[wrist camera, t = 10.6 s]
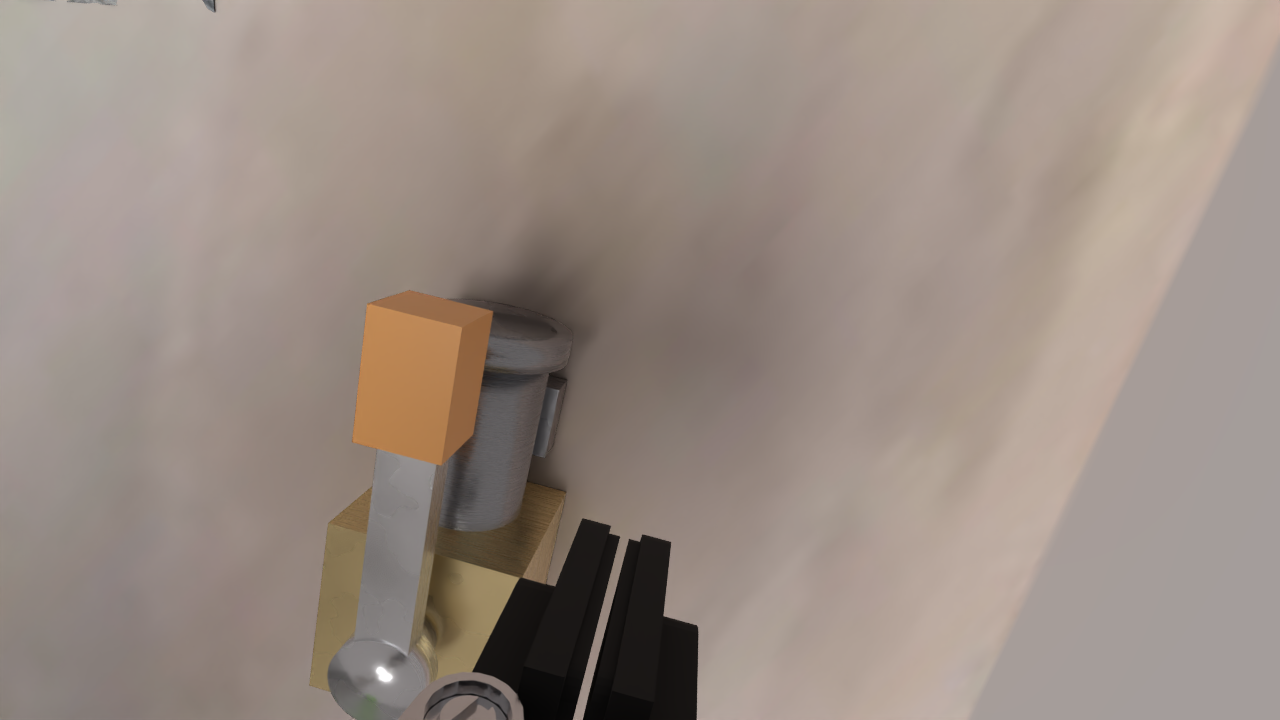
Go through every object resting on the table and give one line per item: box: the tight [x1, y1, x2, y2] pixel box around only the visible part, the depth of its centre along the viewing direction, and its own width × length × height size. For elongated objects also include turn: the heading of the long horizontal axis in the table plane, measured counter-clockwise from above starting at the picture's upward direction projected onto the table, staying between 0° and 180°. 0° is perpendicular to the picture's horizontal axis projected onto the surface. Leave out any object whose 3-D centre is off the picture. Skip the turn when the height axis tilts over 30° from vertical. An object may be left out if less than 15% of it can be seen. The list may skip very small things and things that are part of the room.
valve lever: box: [327, 290, 493, 720], centre depth 20 cm, size 14×3×2 cm, turn 168°
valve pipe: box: [309, 299, 573, 692], centre depth 26 cm, size 22×7×8 cm, turn 167°
